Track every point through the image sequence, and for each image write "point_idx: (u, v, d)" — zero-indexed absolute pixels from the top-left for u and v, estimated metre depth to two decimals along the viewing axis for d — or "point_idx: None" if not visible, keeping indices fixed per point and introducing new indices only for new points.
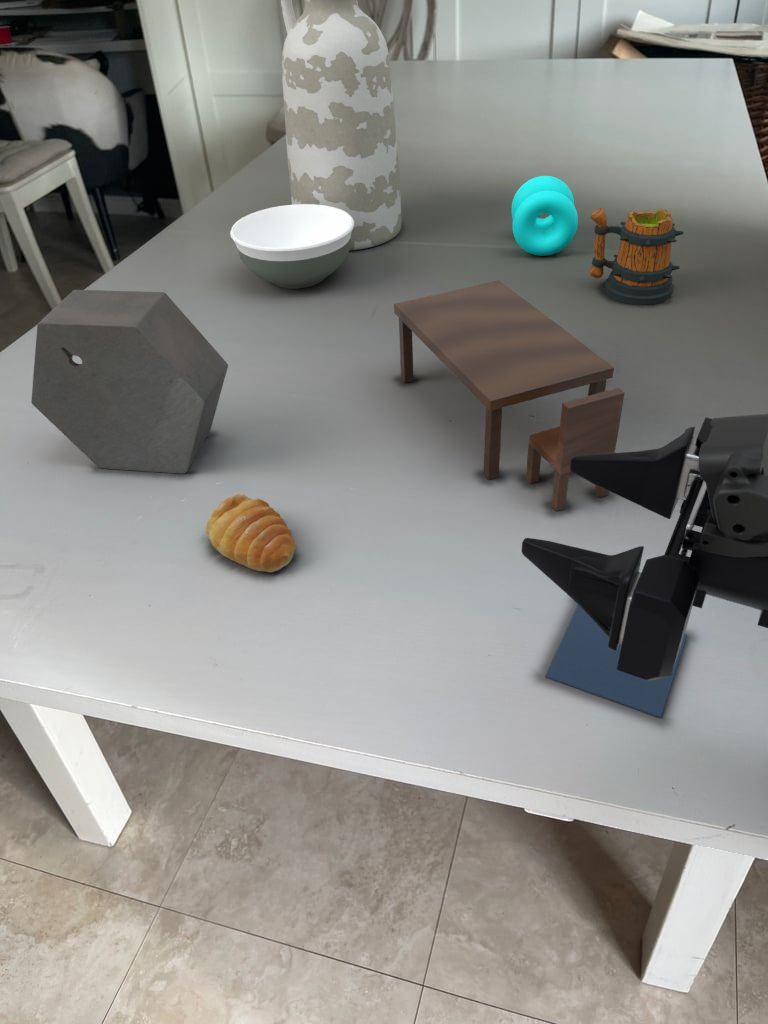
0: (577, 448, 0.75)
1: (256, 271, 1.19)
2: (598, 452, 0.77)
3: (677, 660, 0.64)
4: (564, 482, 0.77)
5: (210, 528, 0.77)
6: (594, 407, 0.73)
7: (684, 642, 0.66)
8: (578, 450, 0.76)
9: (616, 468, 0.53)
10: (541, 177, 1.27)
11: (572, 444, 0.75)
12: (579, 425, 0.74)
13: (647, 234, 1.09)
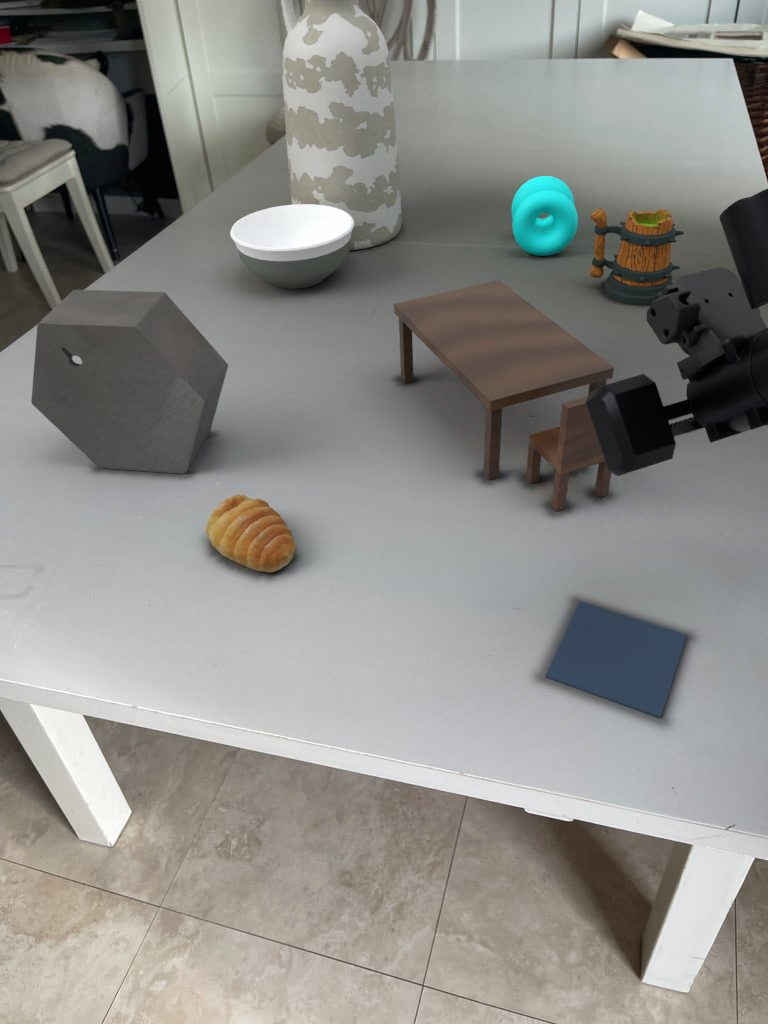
0: (577, 448, 0.75)
1: (256, 271, 1.19)
2: (598, 452, 0.77)
3: (677, 660, 0.64)
4: (564, 482, 0.77)
5: (210, 528, 0.77)
6: None
7: (684, 642, 0.66)
8: (578, 450, 0.76)
9: None
10: (541, 177, 1.27)
11: (572, 444, 0.75)
12: (579, 425, 0.74)
13: (647, 234, 1.09)
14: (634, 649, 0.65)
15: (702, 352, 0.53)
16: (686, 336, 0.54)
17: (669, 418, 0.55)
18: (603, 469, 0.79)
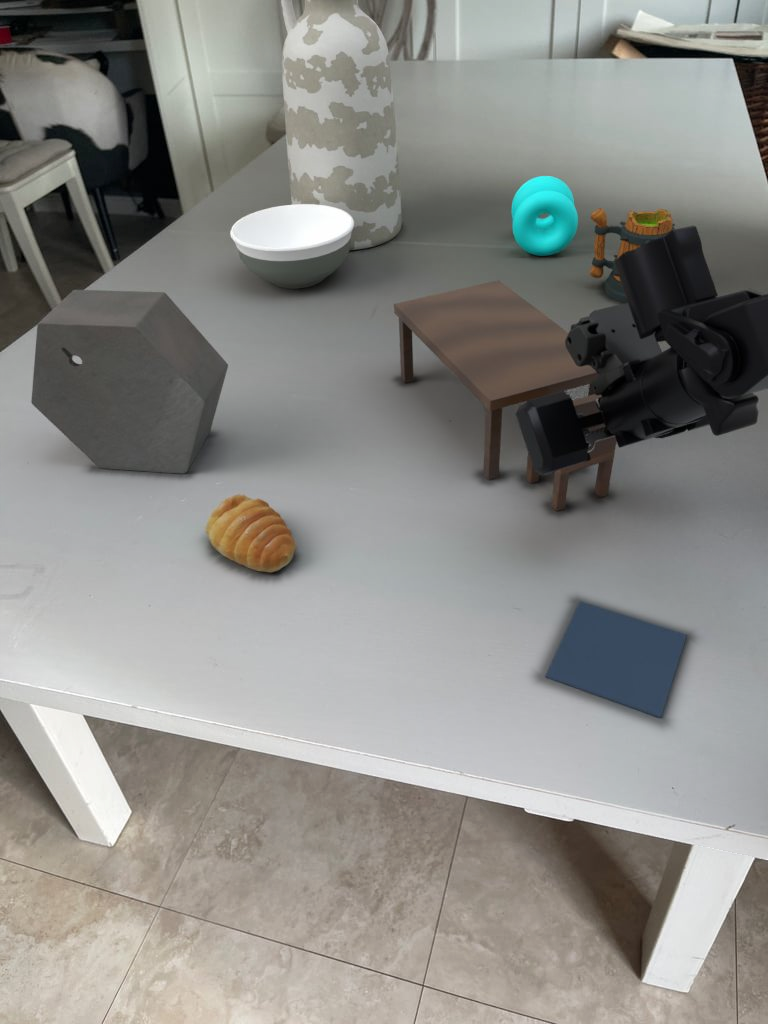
0: None
1: (256, 271, 1.19)
2: (598, 452, 0.77)
3: (677, 660, 0.64)
4: (564, 482, 0.77)
5: (210, 528, 0.77)
6: (594, 407, 0.73)
7: (684, 642, 0.66)
8: None
9: None
10: (541, 177, 1.27)
11: None
12: None
13: (647, 234, 1.09)
14: (634, 649, 0.65)
15: (608, 373, 0.65)
16: (595, 360, 0.65)
17: (584, 427, 0.67)
18: (603, 469, 0.79)
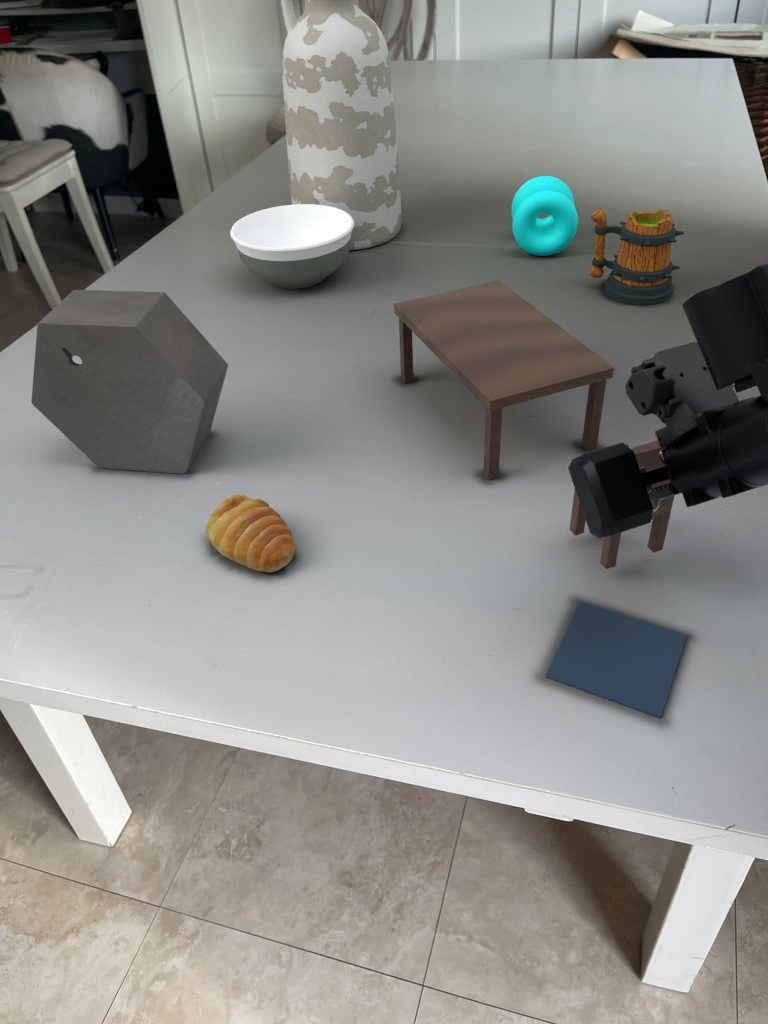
0: None
1: (256, 271, 1.19)
2: None
3: (677, 660, 0.64)
4: (616, 538, 0.69)
5: (210, 528, 0.77)
6: (653, 456, 0.65)
7: (684, 642, 0.66)
8: None
9: None
10: (541, 177, 1.27)
11: None
12: None
13: (647, 234, 1.09)
14: (634, 649, 0.65)
15: (677, 423, 0.57)
16: (662, 408, 0.57)
17: (647, 484, 0.58)
18: (659, 522, 0.70)
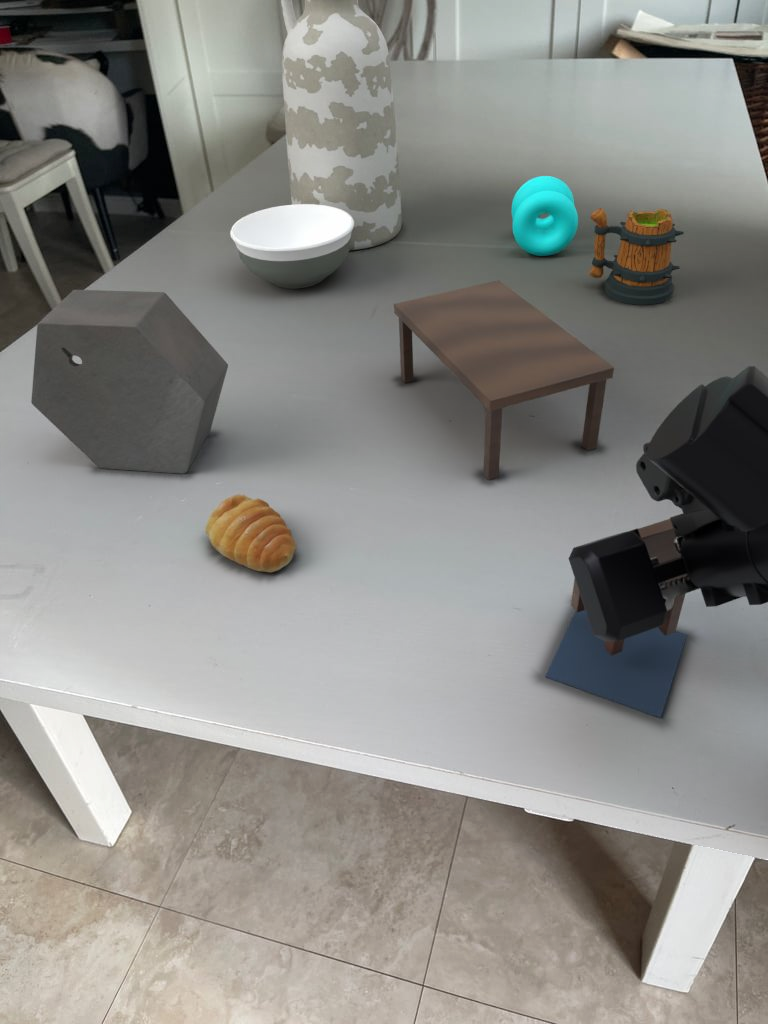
0: None
1: (256, 271, 1.19)
2: None
3: (677, 660, 0.64)
4: None
5: (210, 528, 0.77)
6: (666, 537, 0.56)
7: (684, 642, 0.66)
8: None
9: None
10: (541, 177, 1.27)
11: None
12: None
13: (647, 234, 1.09)
14: (634, 649, 0.65)
15: (696, 513, 0.48)
16: (679, 495, 0.48)
17: (660, 580, 0.50)
18: None
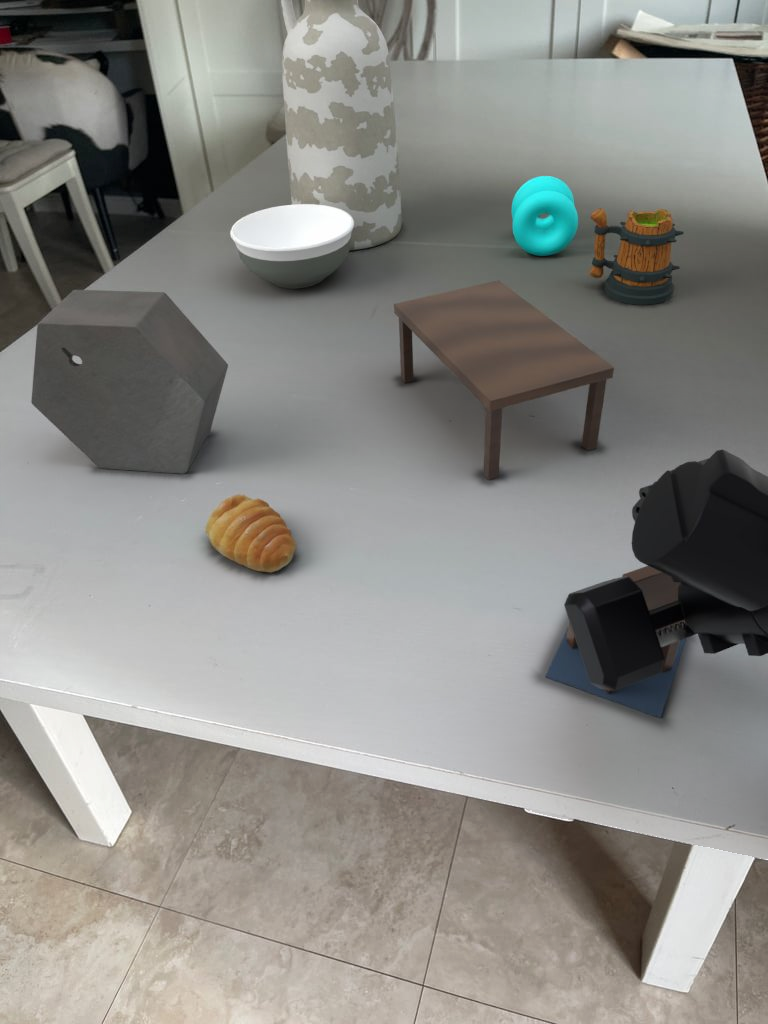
0: None
1: (256, 271, 1.19)
2: None
3: (677, 660, 0.64)
4: None
5: (210, 528, 0.77)
6: (663, 578, 0.56)
7: (684, 642, 0.66)
8: None
9: None
10: (541, 177, 1.27)
11: None
12: None
13: (647, 234, 1.09)
14: None
15: None
16: None
17: (658, 627, 0.49)
18: None
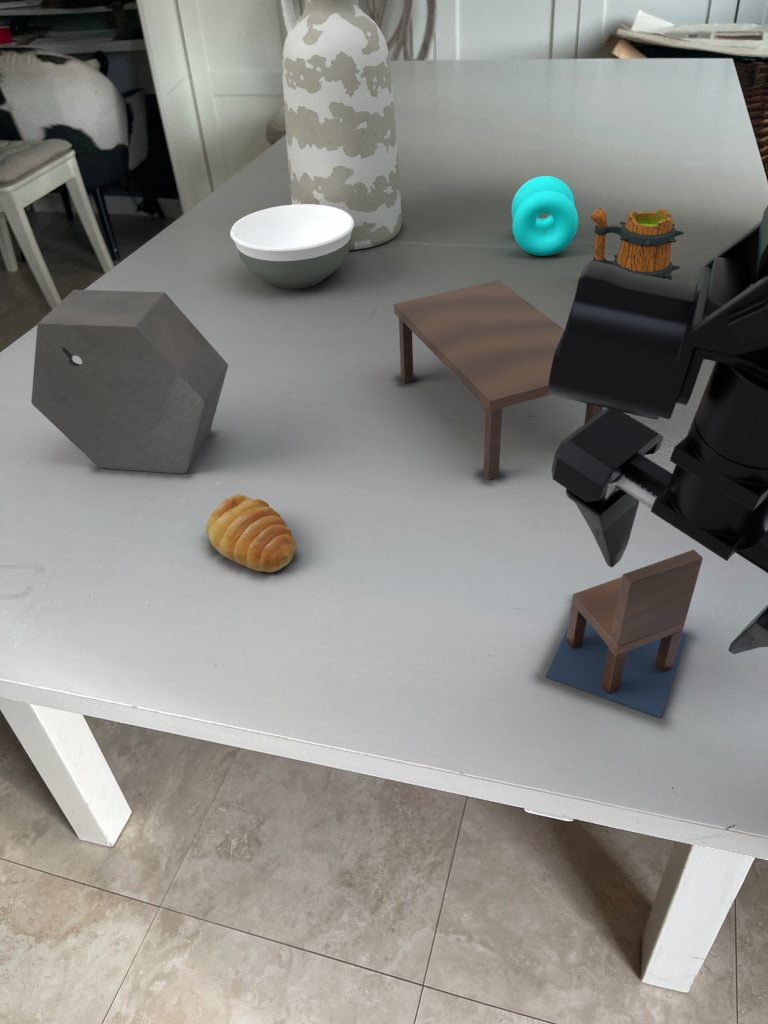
0: (639, 625, 0.58)
1: (256, 271, 1.19)
2: (664, 626, 0.59)
3: (677, 660, 0.64)
4: (620, 663, 0.60)
5: (210, 528, 0.77)
6: (663, 578, 0.56)
7: (684, 642, 0.66)
8: (640, 627, 0.58)
9: (755, 617, 0.48)
10: (541, 177, 1.27)
11: (633, 621, 0.57)
12: (643, 600, 0.56)
13: (647, 234, 1.09)
14: (634, 649, 0.65)
15: None
16: None
17: (639, 466, 0.47)
18: (669, 642, 0.61)
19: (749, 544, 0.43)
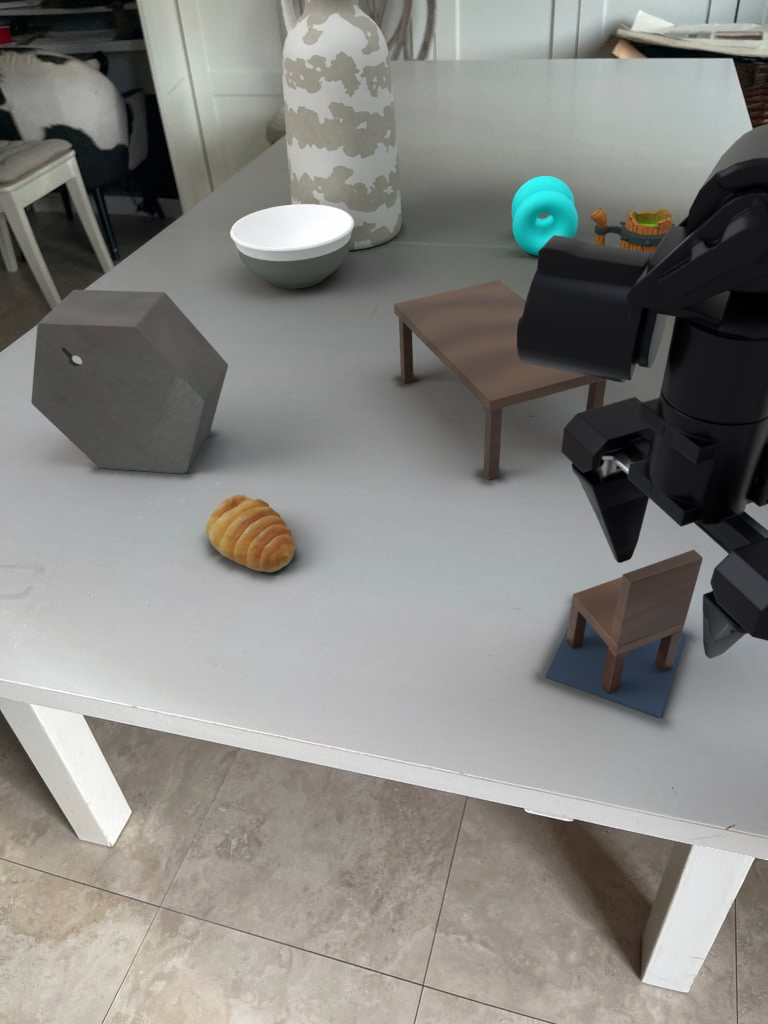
0: (639, 625, 0.58)
1: (256, 271, 1.19)
2: (664, 626, 0.59)
3: (677, 660, 0.64)
4: (620, 663, 0.60)
5: (210, 528, 0.77)
6: (663, 578, 0.56)
7: (684, 642, 0.66)
8: (640, 627, 0.58)
9: None
10: (541, 177, 1.27)
11: (633, 621, 0.57)
12: (643, 600, 0.56)
13: (647, 234, 1.09)
14: (634, 649, 0.65)
15: None
16: None
17: (636, 444, 0.49)
18: (669, 642, 0.61)
19: (711, 519, 0.43)
